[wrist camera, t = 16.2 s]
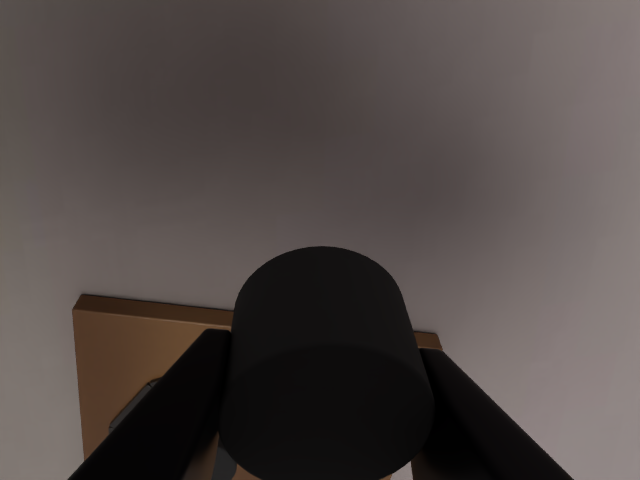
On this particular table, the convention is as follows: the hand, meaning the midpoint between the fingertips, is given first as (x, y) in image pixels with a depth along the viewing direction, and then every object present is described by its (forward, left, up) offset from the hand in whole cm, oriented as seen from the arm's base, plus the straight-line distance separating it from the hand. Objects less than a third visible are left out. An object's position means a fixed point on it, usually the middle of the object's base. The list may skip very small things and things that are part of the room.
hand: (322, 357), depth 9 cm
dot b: (0, 0, -1) cm, 1 cm away
